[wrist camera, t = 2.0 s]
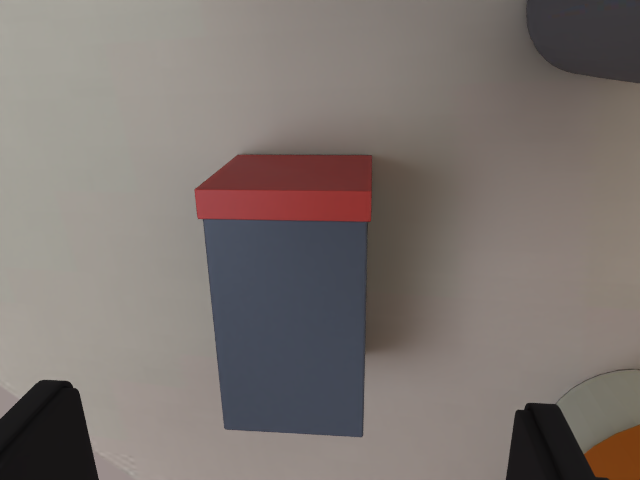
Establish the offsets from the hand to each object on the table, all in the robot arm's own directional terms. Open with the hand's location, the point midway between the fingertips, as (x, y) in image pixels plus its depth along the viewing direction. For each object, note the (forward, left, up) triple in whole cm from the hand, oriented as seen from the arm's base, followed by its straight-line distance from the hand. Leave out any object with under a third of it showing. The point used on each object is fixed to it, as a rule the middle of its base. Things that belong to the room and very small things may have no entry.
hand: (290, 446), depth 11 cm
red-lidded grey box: (0, -3, -16) cm, 17 cm away
